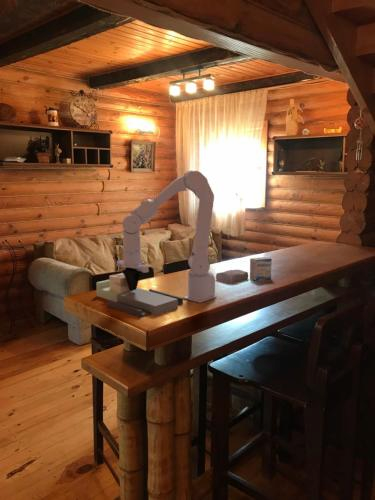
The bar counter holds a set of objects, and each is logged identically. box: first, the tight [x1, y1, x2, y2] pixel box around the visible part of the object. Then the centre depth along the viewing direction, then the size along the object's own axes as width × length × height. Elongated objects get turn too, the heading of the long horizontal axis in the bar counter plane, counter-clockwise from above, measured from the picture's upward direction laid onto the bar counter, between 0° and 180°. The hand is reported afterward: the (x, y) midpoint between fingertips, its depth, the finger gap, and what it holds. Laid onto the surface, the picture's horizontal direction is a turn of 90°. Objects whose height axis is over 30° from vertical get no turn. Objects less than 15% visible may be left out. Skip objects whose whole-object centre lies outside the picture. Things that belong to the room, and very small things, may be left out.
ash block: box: [108, 272, 130, 293], centre depth 151 cm, size 6×6×5 cm
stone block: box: [215, 269, 249, 284], centre depth 178 cm, size 12×5×10 cm
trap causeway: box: [95, 279, 184, 318], centre depth 147 cm, size 19×30×5 cm, turn 47°
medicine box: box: [249, 256, 273, 281], centre depth 178 cm, size 8×4×9 cm, turn 115°
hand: (132, 289), depth 147 cm, fingers closed
